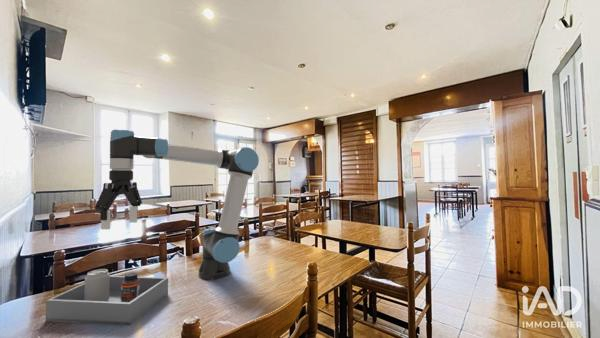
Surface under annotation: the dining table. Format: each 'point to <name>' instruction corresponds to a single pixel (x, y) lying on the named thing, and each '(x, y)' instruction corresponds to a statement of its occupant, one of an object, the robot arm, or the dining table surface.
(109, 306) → the tray
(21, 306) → the dining table surface
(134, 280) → the supplement bottle
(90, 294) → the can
